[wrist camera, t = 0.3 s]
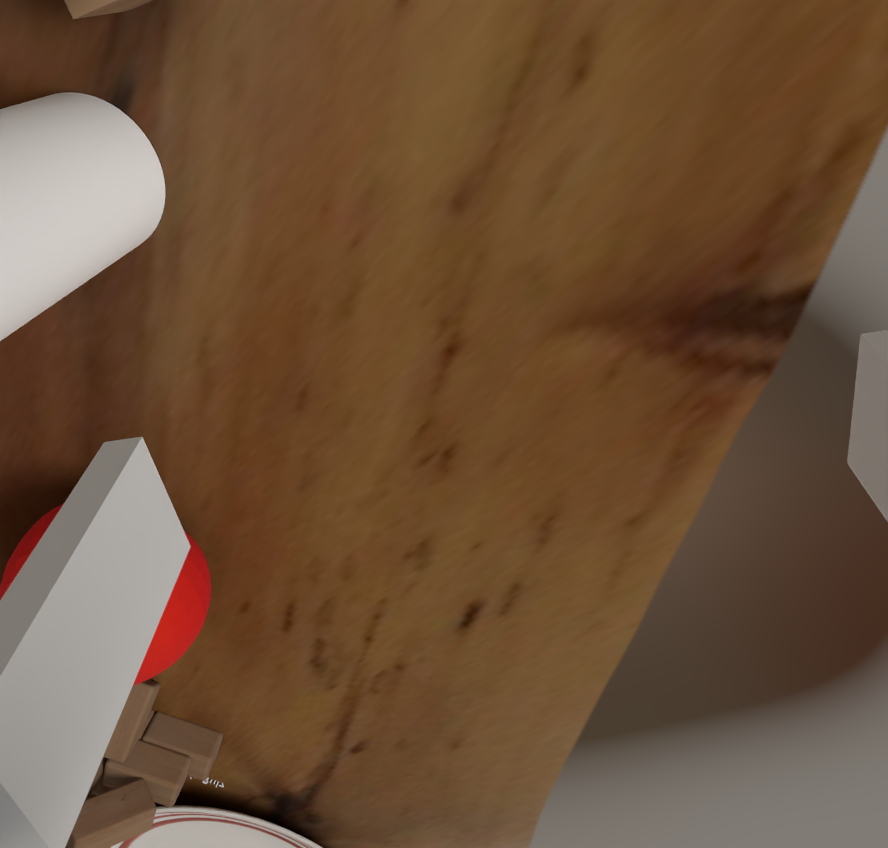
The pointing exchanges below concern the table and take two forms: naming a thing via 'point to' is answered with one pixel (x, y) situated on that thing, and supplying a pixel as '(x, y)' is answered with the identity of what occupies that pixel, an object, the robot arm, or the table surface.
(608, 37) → the table surface
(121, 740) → the wooden blocks
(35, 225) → the cup
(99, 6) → the walnut block
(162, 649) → the tomato
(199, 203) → the table surface
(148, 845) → the dinner plate
